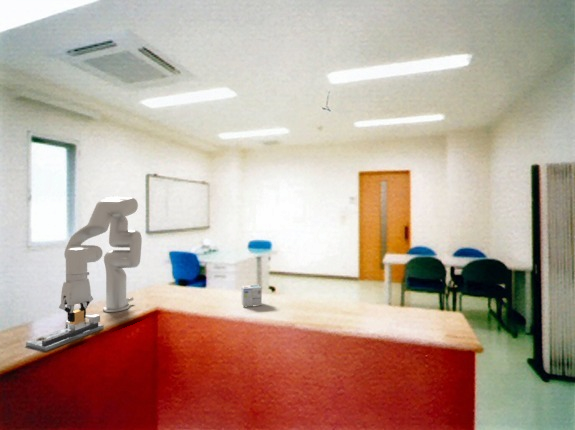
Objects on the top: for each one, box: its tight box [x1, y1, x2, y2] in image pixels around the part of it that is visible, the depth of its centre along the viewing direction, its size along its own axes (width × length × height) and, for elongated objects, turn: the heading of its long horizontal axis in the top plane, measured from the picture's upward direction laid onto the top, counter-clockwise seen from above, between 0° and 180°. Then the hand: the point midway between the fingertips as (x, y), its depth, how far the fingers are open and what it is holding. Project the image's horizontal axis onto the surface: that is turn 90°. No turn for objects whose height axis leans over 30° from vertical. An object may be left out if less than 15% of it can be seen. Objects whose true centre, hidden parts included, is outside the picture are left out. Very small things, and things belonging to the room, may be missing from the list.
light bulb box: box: [241, 284, 263, 307], centre depth 176 cm, size 11×7×11 cm, turn 108°
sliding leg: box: [64, 309, 85, 330], centre depth 133 cm, size 4×9×8 cm, turn 69°
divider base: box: [25, 314, 104, 352], centre depth 131 cm, size 24×12×6 cm, turn 159°
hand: (76, 319), depth 132 cm, fingers closed on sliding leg, 4 cm apart
